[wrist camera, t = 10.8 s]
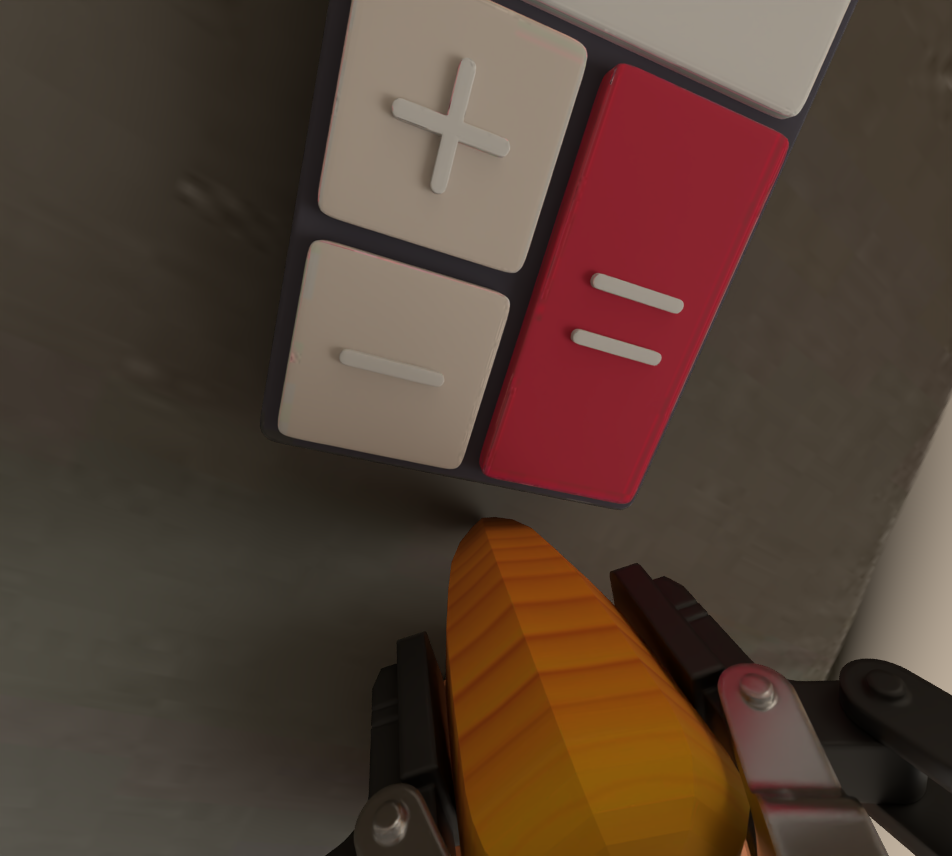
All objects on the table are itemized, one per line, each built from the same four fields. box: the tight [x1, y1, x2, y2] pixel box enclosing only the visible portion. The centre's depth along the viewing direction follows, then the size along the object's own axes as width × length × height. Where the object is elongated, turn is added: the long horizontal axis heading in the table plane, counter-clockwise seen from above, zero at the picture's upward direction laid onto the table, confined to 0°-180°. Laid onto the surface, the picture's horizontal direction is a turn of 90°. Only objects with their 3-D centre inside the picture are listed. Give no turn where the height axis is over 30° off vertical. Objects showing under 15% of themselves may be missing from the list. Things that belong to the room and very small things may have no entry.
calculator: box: [260, 0, 858, 510], centre depth 13 cm, size 11×4×15 cm
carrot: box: [445, 517, 750, 856], centre depth 11 cm, size 5×5×15 cm
